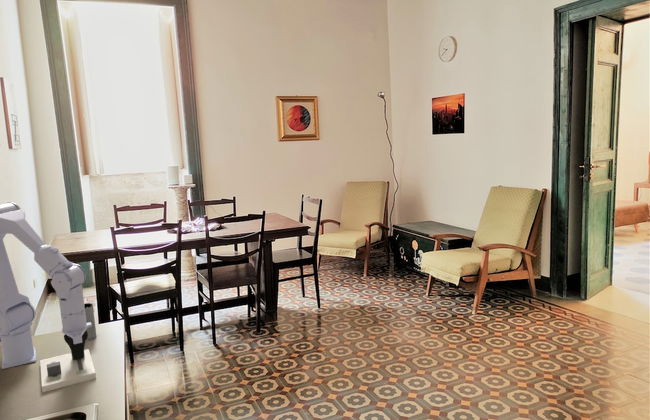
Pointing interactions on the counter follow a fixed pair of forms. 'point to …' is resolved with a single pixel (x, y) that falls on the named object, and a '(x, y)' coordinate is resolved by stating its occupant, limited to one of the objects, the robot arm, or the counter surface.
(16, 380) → the counter surface
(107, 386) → the counter surface
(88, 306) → the planter
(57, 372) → the block
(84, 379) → the panel
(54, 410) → the counter surface
